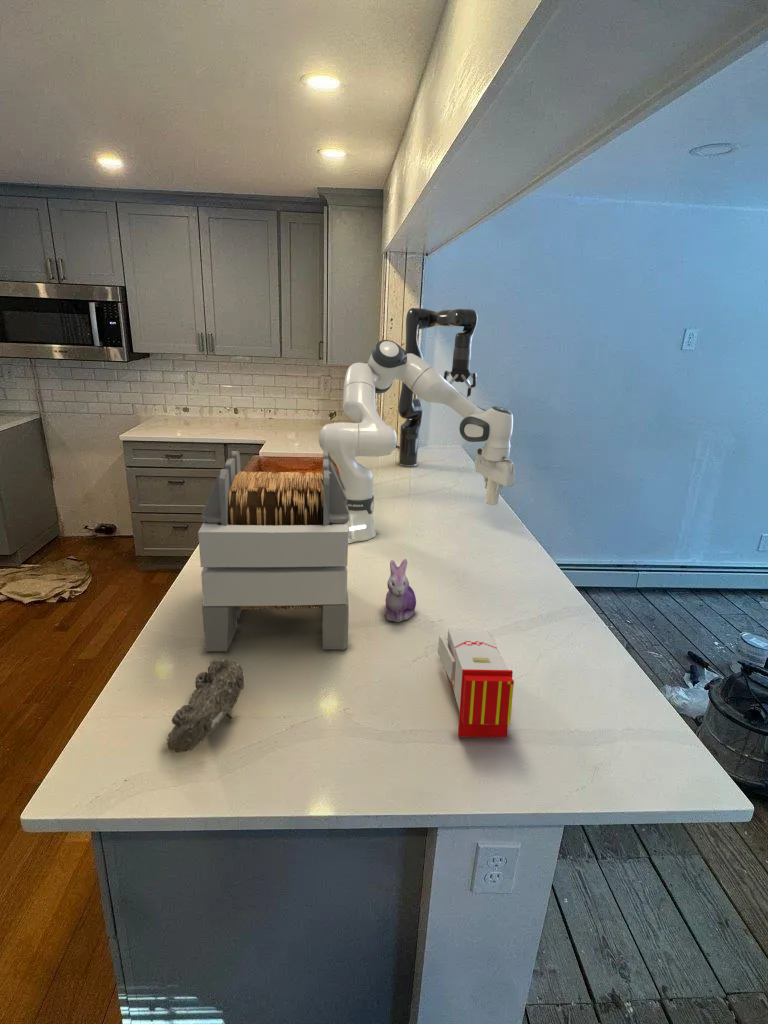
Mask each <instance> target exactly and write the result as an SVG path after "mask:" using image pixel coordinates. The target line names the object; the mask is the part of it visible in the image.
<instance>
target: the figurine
mask: <svg viewBox="0 0 768 1024" xmlns="http://www.w3.org/2000/svg"><path fill="white" fill-rule="evenodd" d="M407 567H408V559H406V558H404V559H403V560H402V561H401V563H400V565H399V566H398V565H397V563H396V562H395V561H394V560H393V559H391V560H390V561H389V570H390V576H389V578H388V579H387V589H388V591H387V592H386V594H385V595H386V596H385V607H384V615H385V616H386V620H387V621H391V622H395V623H400V622H402V621H406V620H409V619H410V618H411V617H413V616H414V615H415V610H416V606H417V597H416V593H415V591H414V590H413V587H411V586H410V582H409V579H408V577H407V574H406V571H407Z"/></svg>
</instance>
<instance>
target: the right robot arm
mask: <svg viewBox="0 0 768 1024" xmlns="http://www.w3.org/2000/svg"><path fill="white" fill-rule="evenodd" d="M405 317H406V318H405V349H404V351H405V352H406V354H409V353H411V354H414V355H416V356H418V357H419V358H421V359H422V360H424V361H425V359H424V355H423V351H422V350H421V347H420V345H419V341H418V330H426V329H430V328H432V327H444V328H445V327H446V328H447V327H448V328H450V327H463V328H462V330H461V331H460V332H457V333H456V334H455V338H454V347H453V348H454V349H453V353H452V366H451V371H449V370H445V371H444V372H443V378H444V379H445V380H446V381H447V382H448V383H450V384H451V385H452V384H453V383H454V382H455V383H465V384H466V387H468V388H467V393H466V397H467V398H469V397H470V396H472V389H473V388H476V387H477V372H471V371H470V369H471V358H472V341H473V337H474V334H475V330H476V328H477V324H478V317H479V316H478V314H477V311H476V310H474V309H471V308H454V309H442V310H438V311H436V310H432V309H427V308H423V307H410V308H409V309H408V311H407V313H406V316H405ZM449 376H451V379H450V381H448V377H449ZM470 377H471V379H472V384H471V382H470V380H469V378H470ZM400 389H401V390H400V395H399V401H398V414H399V417H400V418H401V419H405V421H404V422H403V423H402V424H401V425H400V430H399V431H400V433H399V445H398V446H396V448H398V449H399V450H398V451H399V452H398V453H399V454H398V459H397V461H398V463H397V464H398V465H399V466H401V467H407V468H410V467H413V468H414V467H417V466H418V451H419V437H420V435H419V434H420V428H421V426H422V420H423V419H422V418H423V404H422V402H421V400H420V399H418V398H414V394H415V393H414V392H413V391H411V390H410V389H409V388H408V387H407V386H406V384H405V383H404V382H402V381H401V388H400Z"/></svg>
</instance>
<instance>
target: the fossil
mask: <svg viewBox="0 0 768 1024" xmlns="http://www.w3.org/2000/svg"><path fill="white" fill-rule="evenodd" d="M243 670H244V669H243V667H242V665H240V664H237V662H236V661H235V660H234V659H232V658H231V659H227V658H226V659H224V660H223V661H222V660H217V659H212V660H211V661H210V663H209V665H208V666H207V671H201V672H199V673H198V674H197V675H196V676H195V680H194V684H195V685H194V687H195V689H194V690H193V693H192V694H191V697H190V698H189V700H188V704H184V705H182V706H181V707H180V709H177V710H176V711H175V713H174V715H173V716H172V718H171V723H172V724H173V727H172V730H171V731H170V732H168V734H167V738H166V741H167V742H166V745H167V749H168V750H169V751H173V752H174V753H176V754H178V753H182V752H188V751H189V752H192V751H193V750H195V748H196V747H197V746H199V744H200V743H201V742H203V741H204V740H205V739H206V738H207V737H208V736H209V735H210V734H211V733H212V732H214V730H215V729H217V727H218V726H219V724H220V722H221V721H222V720H223V719H224V718H225V716H226V717H227V719H229V720H233V717H232V715H230V714H229V710H230V709H231V708H234V706H235V704H236V703H237V702H238V699H239V697H240V695H241V693H242V691H243V690H245V689H244V688H245V675H244V671H243Z"/></svg>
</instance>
